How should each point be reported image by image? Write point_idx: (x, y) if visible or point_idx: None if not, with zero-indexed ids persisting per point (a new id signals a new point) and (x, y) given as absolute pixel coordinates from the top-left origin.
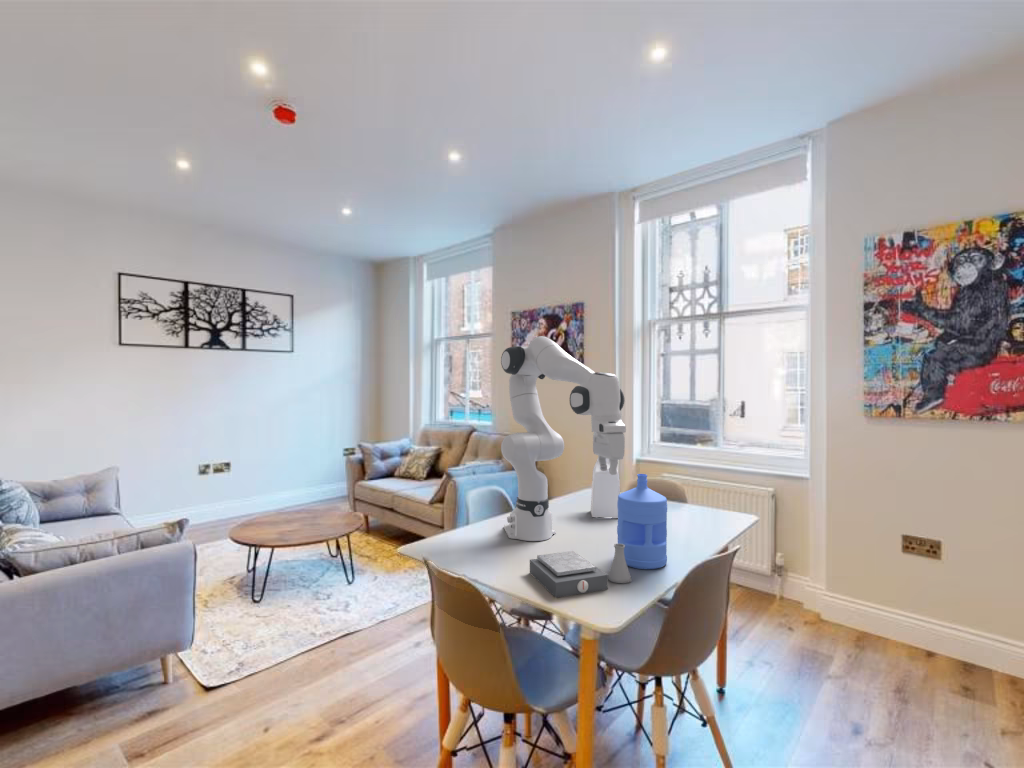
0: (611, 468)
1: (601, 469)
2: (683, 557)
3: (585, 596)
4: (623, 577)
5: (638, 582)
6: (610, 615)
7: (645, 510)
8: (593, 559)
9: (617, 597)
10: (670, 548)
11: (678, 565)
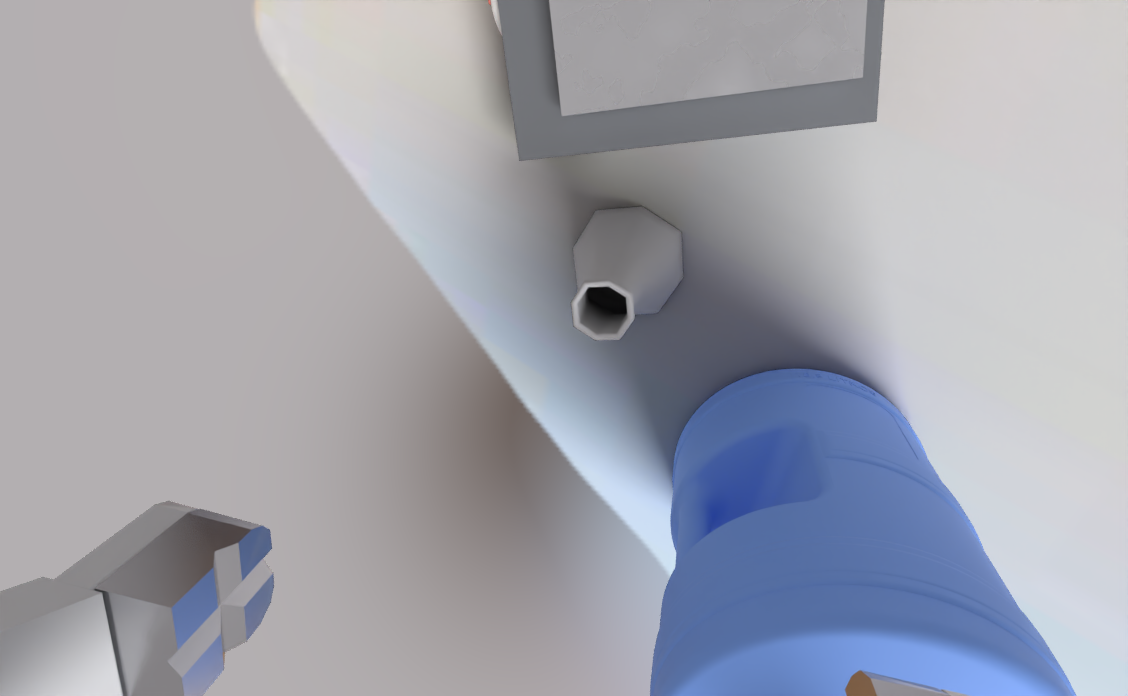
0: (51, 595)
1: (876, 687)
2: None
3: (488, 12)
4: (576, 263)
5: None
6: (317, 52)
7: (667, 635)
8: (918, 262)
9: (457, 159)
10: None
11: None
